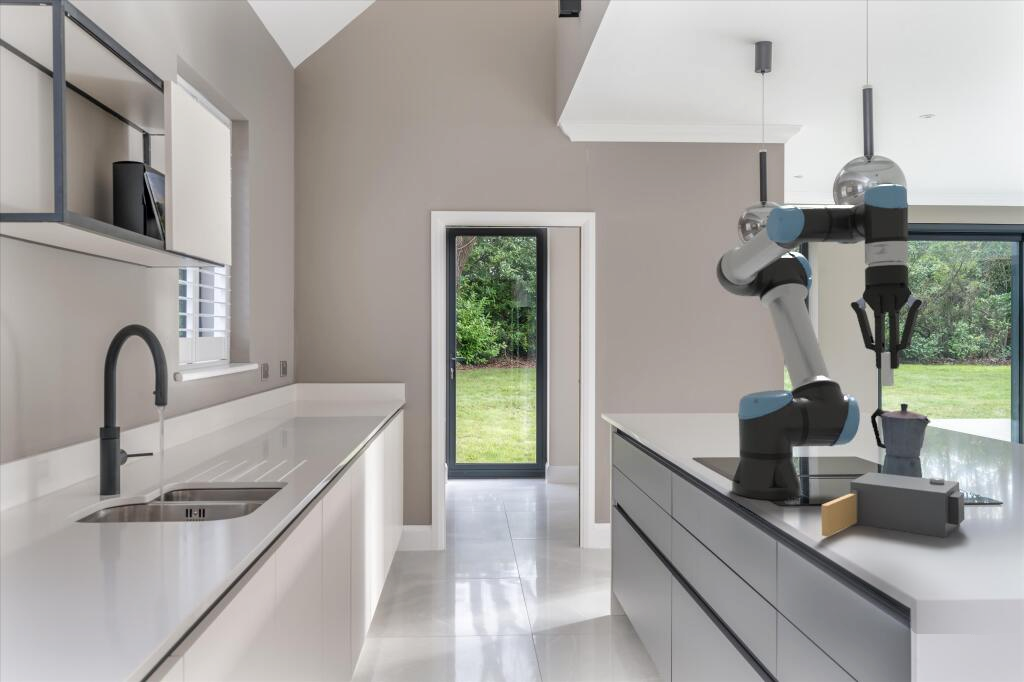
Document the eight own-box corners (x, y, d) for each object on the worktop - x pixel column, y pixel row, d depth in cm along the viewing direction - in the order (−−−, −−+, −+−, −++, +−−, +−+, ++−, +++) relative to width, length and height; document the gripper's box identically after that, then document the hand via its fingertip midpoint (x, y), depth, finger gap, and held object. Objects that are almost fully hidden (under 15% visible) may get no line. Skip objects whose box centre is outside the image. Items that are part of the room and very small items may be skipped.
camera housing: (850, 522, 138) (850, 477, 138) (869, 510, 147) (869, 468, 147) (955, 539, 127) (955, 489, 127) (969, 525, 136) (968, 478, 135)
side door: (853, 522, 138) (853, 489, 138) (858, 523, 137) (858, 490, 137) (822, 537, 128) (821, 502, 128) (827, 538, 128) (827, 503, 128)
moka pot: (918, 496, 159) (917, 407, 159) (856, 484, 173) (855, 401, 172) (944, 491, 163) (943, 404, 163) (882, 479, 177) (881, 399, 177)
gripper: (844, 266, 141) (846, 385, 142) (918, 261, 133) (920, 388, 133) (856, 268, 147) (858, 383, 147) (928, 263, 138) (929, 385, 138)
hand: (887, 385), depth 140 cm, fingers closed
